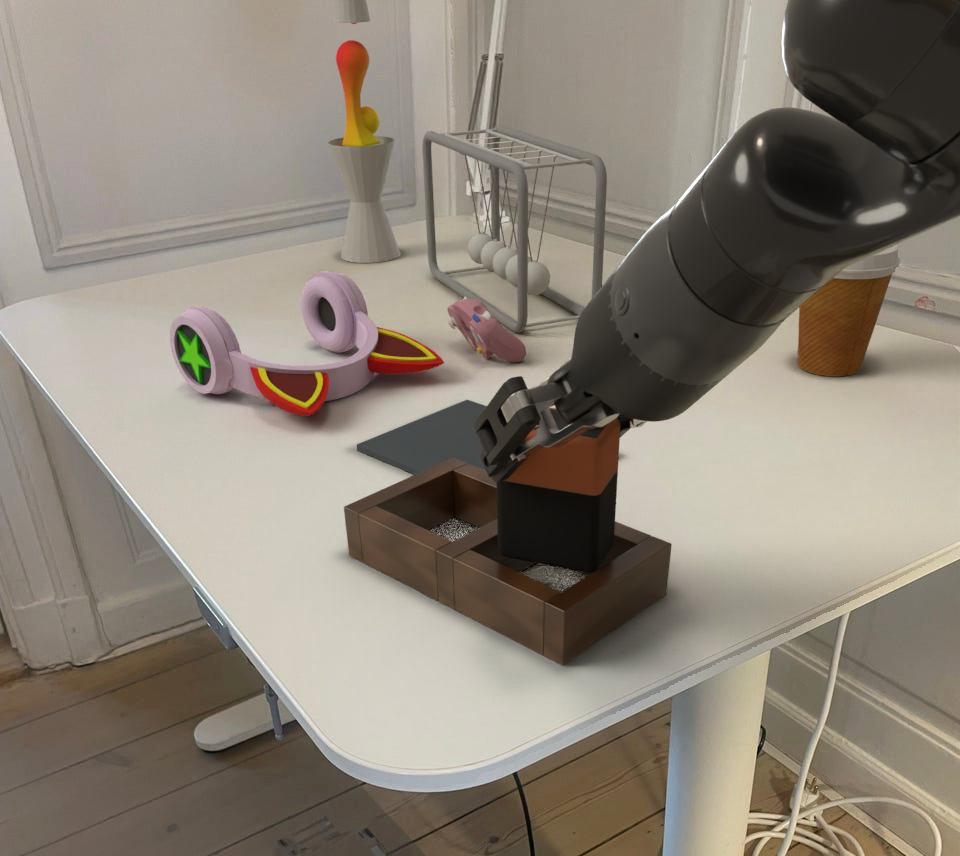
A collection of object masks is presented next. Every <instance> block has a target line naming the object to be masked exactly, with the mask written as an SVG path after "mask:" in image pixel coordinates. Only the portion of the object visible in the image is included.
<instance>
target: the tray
mask: <svg viewBox="0 0 960 856" xmlns="http://www.w3.org/2000/svg"><path fill="white" fill-rule="evenodd" d="M343 512H344V521H345V522H344V523H345V531H346V539H347V549H348V555H349V556H350V557H351V558H354V559H355V560H357V561H359V562H362V563H363V564H366V565H367V566H369V567H371V568H373V569H375V570H377V571H379V572H381V573H383V574H384V575H387V576H388V577H391V578H392V579H394V580H396V581H398V582H399V583H400V582H401V583H402V584H404V585H405V586H408V587H409V588H411V589H413V590H415V591H417V592H419V593H422V594H423V595H425V596H427V597H428V598H431V599H433V600H435V601H437V602H439V603H440V604H443V605H445V606H446V607H449V608H450V609H452V610H455V611H456V612H458V613H460V614H462V615H464V616H466V617H468V618H470V619H471V620H474V621H475V622H477V623H478V624H479V623H480V624H481V625H483V626H485V627H487V628H490V629H491V630H493V631H495V632H497V633H499V634H501V635H503V636H504V637H507V638H509V639H510V640H513V641H514V642H517V643H518V644H520V645H522V646H524V647H526V648H528V649H530V650H531V651H534V652H536V653H537V654H539V655H541V656H544V657H546V658H547V659H549V660H551V661H553V662H555V663H557V664H559V665H560V666H564V665H566V664H567V663H569V662H570V661H572V660H573V659H575V658H576V657H577V656H579V655H581V654H582V653H583V652H585V651H587V650H588V649H589V648H591V647H592V646H594V645H596V644H597V643H598V642H599V641H601V640H602V639H604V638H605V637H607V636H608V635H610V634H611V633H612V632H615V630H617V629H618V628H620V627H621V626H623V625H624V624H626V623H627V622H629V621H630V620H631V619H633V618H634V617H636V616H637V615H639V614H640V613H642V612H643V611H645V610H646V609H648V608H649V607H651V606H652V605H654V604H655V603H656V602H658V601H660V600H661V599H662V598H664V597H665V596H667V593H668V585H669V575H670V564H671V554H672V546H673V545H672V543H671V542H668V541H666V540H664V539H661V538H658V537H656V536H653V535H651V534H649V533H646V532H644V531H641V530H638V529H636V528H633V527H631V526H628V525H625V524H623V523H620V522H618V521H616V520H615V530H614V543H613V545H612V547H611V548H610V550H609V551H608V553H607V554H606V556H605V557H604V559H603V561H602V562H601V564H600V565H599V567H598V568H597V570H596V571H595V572H593V573H585V572H581V573H582V574H584V575H586V576H585V577H583V578H581V579H580V580H578V581H576V582H575V583H574V584H571V585H570V586H568V587H567V588H565V589H563V590H562V591H560V590H558V589H556V588H554V587H553V586H549V585H547V584H545V583H543V582H541V581H538V580H536V579H534V578H532V577H530V576H527V575H526V574H524V573H521V572H523V571H525V570H526V569H528V568H531V567H532V566H533V565H535V564H536V563H534V562H529V561H524V560H519V559H514V558H509V557H504V556H502V555H500V554H499V552H498V530H497V483H496V482H494V481H493V479H492V477H489V476H488V474H487V472H486V470H483V469H481V468H478V467H475V466H473V465H470V464H467V463H465V462H463V461H460V460H458V459H455V458H451V459H449V460H447V461H444V462H442V463H440V464H438V465H436V466H433V467H431V468H429V469H427V470H424V471H422V472H420V473H418V474H412V475H411V476H409V477H406V478H404V479H402V480H400V481H398V482H396V483H393V484H391V485H389V486H387V487H385V488H382V489H379V490H377V491H375V492H373V493H371V494H369V495H366V496H365V497H362V498H360V499H358V500H356V501H353V502H351V503H349V504H346V505H345V506H343ZM453 518H456V519H459V520H461V521H464V522H465V523H468V524H471V525H472V526H474V527H477V528H476V529H474V530H473V531H471V532H469V533H467V534H465V535H462V536H461V537H459V538H457V539H454V540H453V541H452V540H450V539H448V538H445V537H443V536H441V535H439V534H437V533H435V532H432V531H431V529H433V528H435V527H437V526H439V525H441V524H443V523H445V522H447V521H449V520H451V519H453Z"/></svg>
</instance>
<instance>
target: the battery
mask: <svg viewBox="0 0 960 856" xmlns="http://www.w3.org/2000/svg"><path fill="white" fill-rule="evenodd" d="M549 409H550V412H551V414H552V416H553V418H554V421H555V423H556V425H557V427H558V429H559V431H560V430H561V429H563V428H564V427H566V426H568V424H567V423H565V422H564V420H563V419H562V417H561V416H560V414H559V413H558V411H557V409H556V408H555V407H549ZM535 435H536V430H532V431H531V432H530V433H529V435H528V436H527V437H526V438H525V440H526V442H527V441H529V440H530V439H532V438H534V437H535ZM620 441H621V437H620V421H619V419H618V418H616V419H614V420H613V421H611V422H609V423H608V424H606V425H604V426H603V427H601V428H594V427H593V428H591V429H589V430H588V431H586V432H584V433H583V434H581V435H579V436H578V437H576V438H575V439H573V440H571V441H570V442H568V443H566V444H565V445H563V446H561V447H559V448H550V447H543V448H542V449H540V450H538V451H537V452H535V453H534V454H532V455H530V456H529V457H528V458H527V459H526V460H525V461H524V462H523V463H522V464H521V465H520V466H519V467H518V468H517V469H516V470H515V471H514V472H513V473H512V475H511V476H510V477H509V478H508V479H506V480H503V481H500V482H496V483H497V530H498V552H499V554H500V555H502V556H504V557H509V558H514V559H519V560H524V561H529V562H534V563H535V564H538V565H545V566H550V567H555V568H559V569H564V570H565V569H566V570H570V571H575V572H579V573H582V572H585V573H593V572H595V571H596V570H597V568H598V567H599V565H600V564H601V562H602V561H603V559H604V557H605V556H606V554H607V553H608V551H609V550H610V548H611V547H612V545H613V543H614V530H615V521H616V509H617V493H618V492H617V491H618V476H619V475H618V473H619V459H620V457H619V456H620Z"/></svg>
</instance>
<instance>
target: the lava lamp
mask: <svg viewBox="0 0 960 856" xmlns="http://www.w3.org/2000/svg"><path fill="white" fill-rule="evenodd" d="M331 13H332V15H331V23H333V24H352V25H356V24H359V23H368V22H371V18H370V13H369V8H368V3H367V0H332V12H331ZM335 61H336V66H337V69H338V70H337V71H338V73H339V77H340V81H341V85H342V90H343V93H344V94H343V95H344V103H345V104H344V105H345V130H344V136H343V137H339V138H335V139H330V140H329V141H327V142H328V143H327V145H328V147H329V150H330V152H331V155H332V158H333V160H334V163H335V165H336V167H337V169H338V172H339V174H340V177H341V179H342V182H343V184H344V186H345V189H346V191H347V195H348V197H349V199H350V202H349V209H348V214H347V219H346V225H345V230H344V236H343V241H342V245H341V252H340V258H341V260H343V261H346V262H350V263H357V264H373V263H383V262H387V261H392V260H394V259H397V258H399V257H400V256H401V252H400V249H399V246H398V242H397V240H396V237H395V235H394V231H393V228H392V226H391V224H390V220H389V218H388V215H387V212H386V209H385V206H384V203H383V200H382V197H383V192H384V188H385V184H386V181H387V175H388V171H389V167H390V163H391V158H392V154H393V149H394V146H395V139H394V138H393V137H389V136H382V135H374V134H376V132H377V131H378V130H379V127H380V117H379V114H378V113H377V111H376V110H375V109H374V108H372V107H370V106H362V105H361V104H362V103H361V102H362V101H361V93H362V90H363V89H362V88H363V85H364V80H365V78H366V75H367V72H368V69H369V66H370V56H369V52H368V49H367V48H366V47H365V45H363V43H361V42H359V41H357V40H354V39H353V40H352V39H350V40H346V41H344V42H343V43H341V44H340V46H339V47H338V48H337V51H336V55H335Z"/></svg>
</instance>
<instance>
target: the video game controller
mask: <svg viewBox="0 0 960 856" xmlns="http://www.w3.org/2000/svg"><path fill="white" fill-rule="evenodd" d="M446 310H447V314H448V315H449V317H450V319H447V321H448V325H449V327H450V328H451V329H452V330H456V328H457V329H458V331H460V333H461V334H462V335H463V337H464V338H465V340H466V341H467V343H468V344H469V346H470V347H471V348H472V349H473V350H474V351H476V352H477V354H478V355H481V356H482V357H483V358H485V359H486V360H487V359H489V358H491V357H492V356H494V355H495V356H497V357H499V358H501V359H502V360H505V361H508V362H511V363H518V362H522V361H524V359H525V358H526V356H527V348H526V345H525V344H524V342H523V341H521V339H519V338H518V337H517V336H515V335H514V334H512V333H511V332H509V331H508V330H507V329H506V328H505V327H504V325H503V324H502V323H500V322H499V321H498V320H497V319H496V318H495V317H494V316H493V315H492V314H491V313H490V312H489V311H488V308H487V307H486V305H485V304H484V303H483V302H481V301H479V300H476V299H467V298H466V296H465V297H463V299H457V300H456V301H455V302H453V303H452V304H450V305H449V306H448V307H447V308H446Z"/></svg>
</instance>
